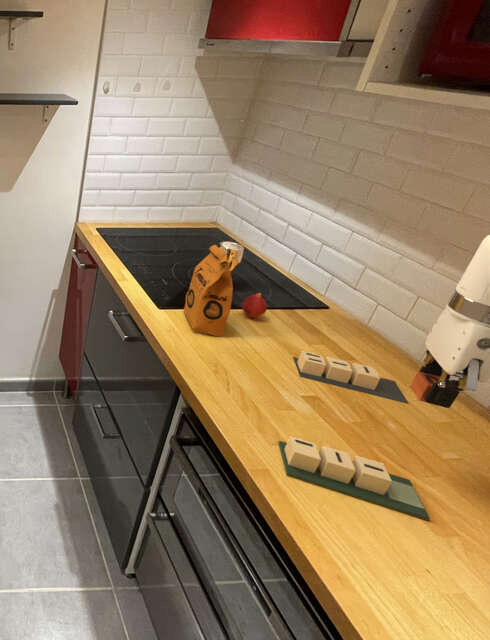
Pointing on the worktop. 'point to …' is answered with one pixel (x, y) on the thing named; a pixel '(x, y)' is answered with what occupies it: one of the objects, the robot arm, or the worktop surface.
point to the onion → (254, 305)
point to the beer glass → (232, 255)
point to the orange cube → (423, 384)
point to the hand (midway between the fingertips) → (430, 394)
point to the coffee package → (210, 294)
